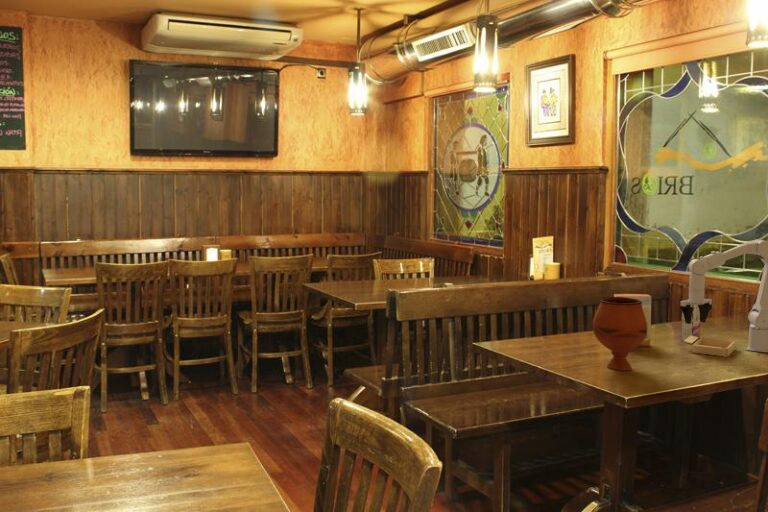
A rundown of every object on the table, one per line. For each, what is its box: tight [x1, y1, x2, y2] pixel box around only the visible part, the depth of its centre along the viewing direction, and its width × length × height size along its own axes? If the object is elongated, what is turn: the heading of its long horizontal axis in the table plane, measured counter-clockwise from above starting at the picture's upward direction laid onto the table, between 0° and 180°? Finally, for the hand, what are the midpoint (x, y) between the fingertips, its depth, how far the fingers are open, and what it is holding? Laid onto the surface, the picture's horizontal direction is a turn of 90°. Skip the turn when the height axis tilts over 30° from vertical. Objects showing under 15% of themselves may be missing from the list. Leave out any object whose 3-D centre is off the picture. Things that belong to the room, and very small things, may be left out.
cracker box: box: [613, 293, 652, 347], centre depth 314 cm, size 14×6×21 cm, turn 84°
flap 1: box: [682, 336, 700, 345], centre depth 309 cm, size 3×13×1 cm, turn 147°
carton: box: [691, 337, 736, 358], centre depth 304 cm, size 13×17×3 cm
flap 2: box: [694, 345, 722, 349], centre depth 296 cm, size 3×10×1 cm, turn 56°
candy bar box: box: [680, 303, 701, 342], centre depth 324 cm, size 11×5×16 cm, turn 143°
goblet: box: [592, 296, 647, 371], centre depth 277 cm, size 19×19×25 cm
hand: (695, 322), depth 308 cm, fingers open, 7 cm apart
